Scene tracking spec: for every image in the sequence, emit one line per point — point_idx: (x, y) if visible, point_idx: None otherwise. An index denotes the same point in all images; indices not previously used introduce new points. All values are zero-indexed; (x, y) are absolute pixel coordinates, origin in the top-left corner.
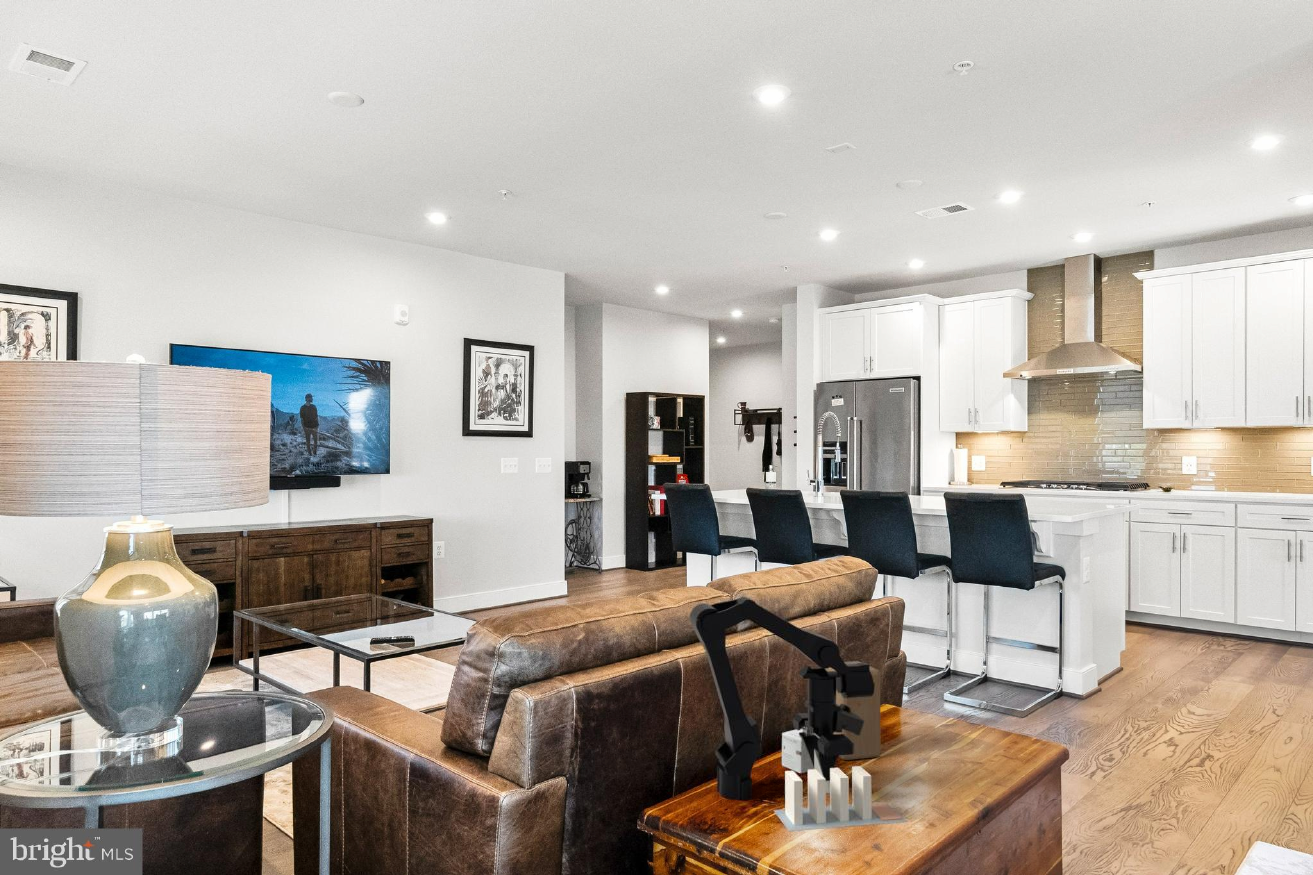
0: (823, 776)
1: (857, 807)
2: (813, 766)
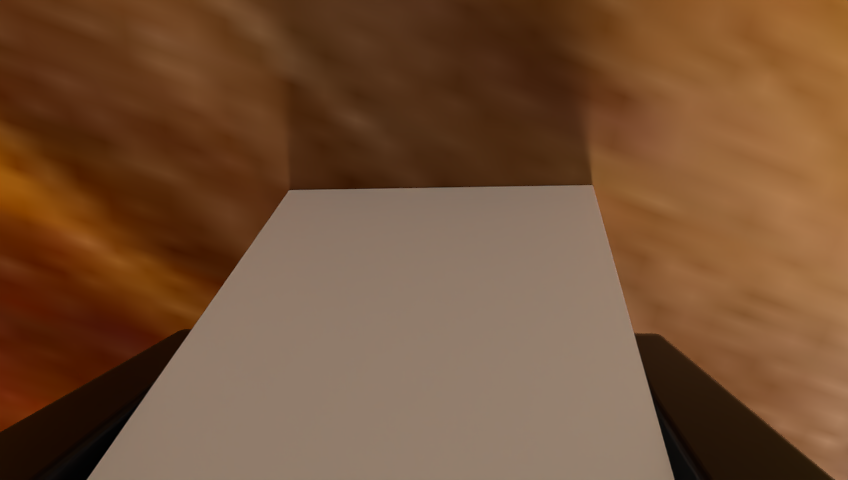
0: None
1: None
2: None
